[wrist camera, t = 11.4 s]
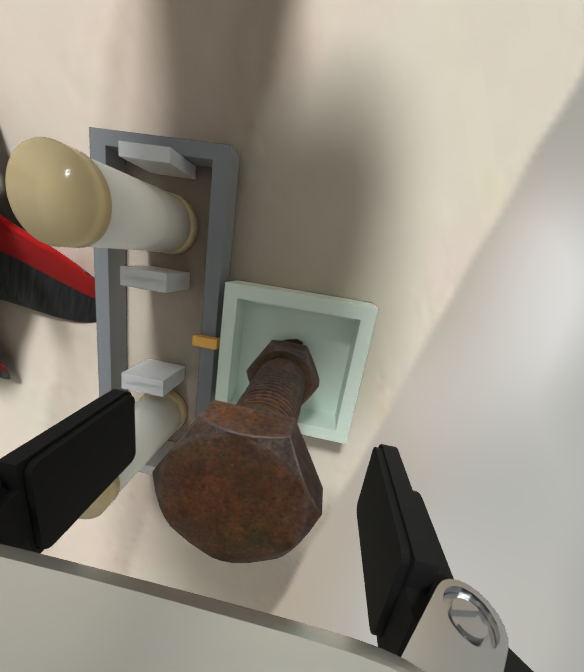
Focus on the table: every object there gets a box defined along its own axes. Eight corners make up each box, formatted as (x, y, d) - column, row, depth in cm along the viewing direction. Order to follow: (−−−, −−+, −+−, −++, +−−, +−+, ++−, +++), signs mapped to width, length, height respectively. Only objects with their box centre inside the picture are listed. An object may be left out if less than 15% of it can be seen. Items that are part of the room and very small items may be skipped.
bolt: (331, 377, 23) (336, 562, 9) (276, 393, 24) (198, 582, 10) (308, 312, 22) (270, 401, 8) (252, 332, 23) (123, 442, 9)
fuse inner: (144, 190, 22) (-2, 132, 12) (199, 197, 21) (91, 142, 12) (145, 250, 23) (12, 240, 13) (197, 257, 23) (97, 252, 13)
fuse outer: (143, 383, 26) (37, 450, 17) (188, 392, 26) (107, 466, 16) (143, 424, 28) (44, 509, 18) (186, 434, 27) (109, 526, 18)
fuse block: (116, 445, 29) (88, 469, 25) (110, 139, 21) (69, 115, 18) (215, 468, 28) (200, 496, 24) (245, 157, 20) (228, 135, 17)
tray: (238, 280, 23) (225, 282, 20) (371, 302, 22) (378, 308, 19) (226, 398, 26) (213, 415, 23) (343, 423, 25) (345, 444, 22)
